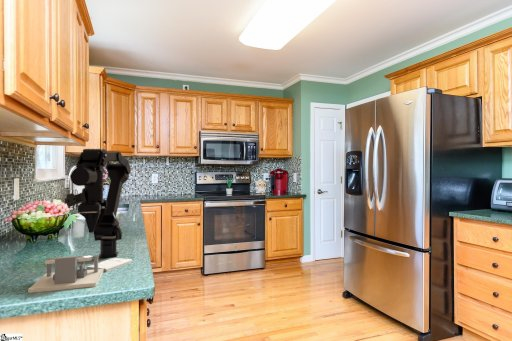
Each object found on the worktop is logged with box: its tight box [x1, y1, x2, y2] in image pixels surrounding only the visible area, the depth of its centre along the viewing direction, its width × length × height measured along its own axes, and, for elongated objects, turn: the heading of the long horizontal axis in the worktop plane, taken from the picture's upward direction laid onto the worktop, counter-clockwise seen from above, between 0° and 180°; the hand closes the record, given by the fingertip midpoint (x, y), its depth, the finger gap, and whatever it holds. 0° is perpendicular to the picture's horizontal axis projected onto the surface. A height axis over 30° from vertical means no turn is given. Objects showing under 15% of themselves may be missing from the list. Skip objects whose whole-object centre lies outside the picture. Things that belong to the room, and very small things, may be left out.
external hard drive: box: [85, 257, 133, 273], centre depth 108 cm, size 2×8×12 cm
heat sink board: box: [27, 254, 105, 294], centre depth 92 cm, size 14×16×8 cm
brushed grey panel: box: [44, 255, 94, 265], centre depth 93 cm, size 1×11×8 cm
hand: (93, 230), depth 108 cm, fingers open, 9 cm apart
